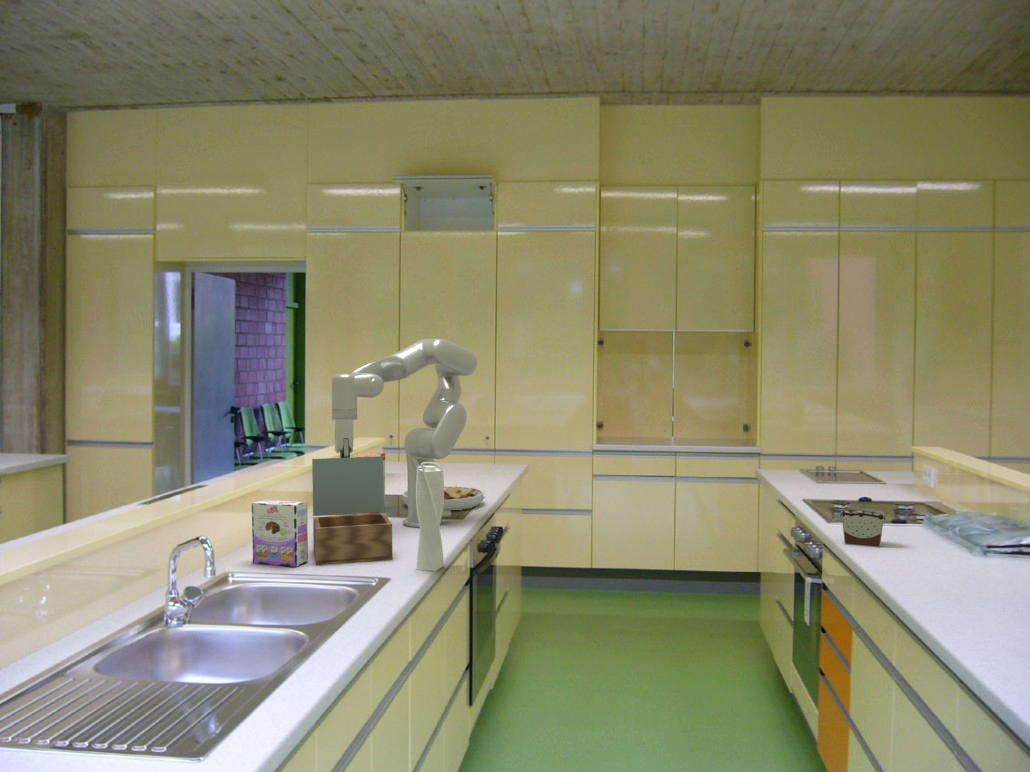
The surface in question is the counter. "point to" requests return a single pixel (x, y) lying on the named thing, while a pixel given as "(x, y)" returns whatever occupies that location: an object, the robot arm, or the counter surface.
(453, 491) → the bowl
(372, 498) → the box lid
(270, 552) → the candy box
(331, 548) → the storage box
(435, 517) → the skyscraper
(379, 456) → the cracker box
